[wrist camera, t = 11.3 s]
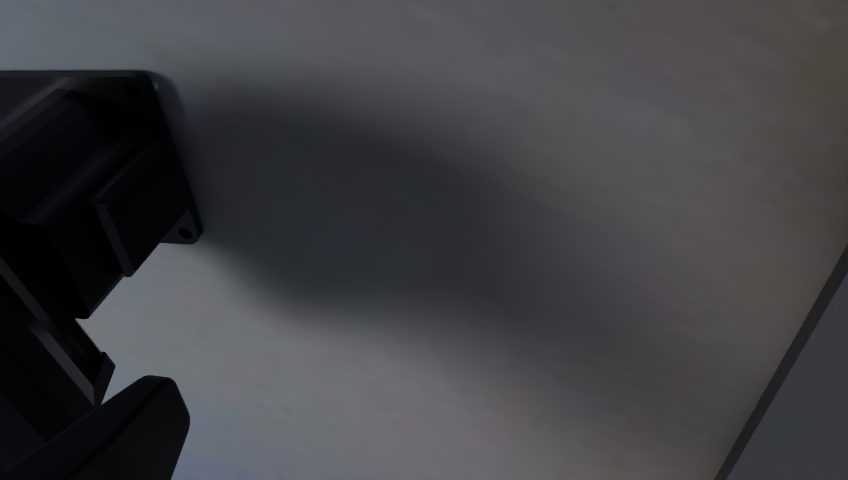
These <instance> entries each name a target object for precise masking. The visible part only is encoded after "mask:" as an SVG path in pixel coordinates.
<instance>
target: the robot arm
mask: <svg viewBox="0 0 848 480" xmlns="http://www.w3.org/2000/svg"><path fill="white" fill-rule="evenodd" d="M132 85H135V86H136V87H137V88H138V89H139V91H140V93H138V92H137V91H136V90H134V88H133V86H132ZM185 228H187V229H188V230H190V232H189V231H188V230H186V229H185ZM202 234H203V226H202V224H201V221H200V218H199V215H198V212H197V209H196V206H195V204H194V200H193V197H192V194H191V191H190V188H189V185H188V182H187V179H186V177H185V174H184V171H183V168H182V165H181V162H180V159H179V157H178V154H177V151H176V148H175V145H174V142H173V140H172V138H171V135H170V132H169V129H168V127H167V124H166V121H165V118H164V115H163V112H162V110H161V107H160V104H159V101H158V98H157V95H156V92H155V90H154V87H153V85H152V83H151V81H150V80H149V79H148V78H147V77H146V76H145V75H144V74H142V73H140V72H136V71H67V72H0V480H171V478H172V475H173V472H174V470H175V467H176V464H177V461H178V459H179V456H180V453H181V450H182V448H183V445H184V442H185V439H186V436H187V434H188V431H189V426H190V415H189V412H188V409H187V407H186V405H185V403H184V400H183V398H182V396H181V393H180V391H179V389H178V387H177V384H176V383H175V381H174V380H172V379H171V378H168V377H161V376H153V375H148V376H144V377H142V378H140V379H138V380H137V381H135V382H134V383H132V384H131V385H129V386H128V387H127V388H125V389H124V390H122V391H121V392H119V393H118V394H116V395H115V396H113V397H112V398H110V399H109V400H108V401H106V402H105V403H103V404H102V405H101V403H102V401H103V398H104V396H105V393H106V390H107V388H108V385H109V382H110V380H111V377H112V375H113V372H114V369H115V364H114V363H113V361H112V360H111V359H110V358H109V356H108V355H107V354H106V353H105V352H101V351H100V350H99V349H98V347H97V346H96V345H95V343H94V342H93V341H92V340H91V338H90V337H89V336H88V335H87V333H86V332H85V331H84V329H83V328H82V327H81V326H80V324H79V323H78V322H77V321H76V319H75V318H78V319H88V318H89V317H90V316H91V315H92V314H93V312H94V311H95V310H96V309H97V308H98V306H99V305H100V304H101V303H102V302H103V300H104V299H105V298H106V297H107V296H108V295H109V293H110V292H111V291H112V290H113V289H114V287H115V286H116V285H117V284H118V283H119V282H120V280H121V279H122V278H123V277H131V276H133V275H134V273H135V272H136V271H137V270H138V269H139V267H140V266H141V265H142V264H143V263H144V261H145V260H146V259H147V258H148V257H149V255H150V254H151V253H152V252H153V251H154V249H155V248H156V247H157V246H158V245H159V243H175V244H194V243H196V242H197V241H198V239H199V238H200V237H201V236H202Z"/></svg>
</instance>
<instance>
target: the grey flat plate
mask: <svg viewBox="0 0 848 480" xmlns="http://www.w3.org/2000/svg"><path fill="white" fill-rule="evenodd" d="M715 480H848V245H847V247H846V249H845V251H844V252H843V254H842V256H841V258H840V260H839V261H838V263H837V265H836V267H835V268H834V270H833V272H832V274H831V275H830V277H829V279H828V281H827V282H826V284H825V286H824V288H823V289H822V291H821V293H820V295H819V297H818V298H817V300H816V302H815V304H814V305H813V307H812V309H811V311H810V312H809V314H808V316H807V318H806V319H805V321H804V323H803V325H802V326H801V328H800V330H799V332H798V334H797V335H796V337H795V339H794V341H793V342H792V344H791V346H790V348H789V349H788V351H787V353H786V355H785V356H784V358H783V360H782V362H781V363H780V365H779V367H778V369H777V370H776V372H775V374H774V376H773V378H772V379H771V381H770V383H769V385H768V386H767V388H766V390H765V392H764V393H763V395H762V397H761V399H760V400H759V402H758V404H757V406H756V407H755V409H754V411H753V413H752V415H751V416H750V418H749V420H748V422H747V423H746V425H745V427H744V429H743V430H742V432H741V434H740V436H739V437H738V439H737V441H736V443H735V444H734V446H733V448H732V450H731V452H730V453H729V455H728V457H727V459H726V460H725V462H724V464H723V466H722V467H721V469H720V471H719V473H718V474H717V476H716V478H715Z"/></svg>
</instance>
